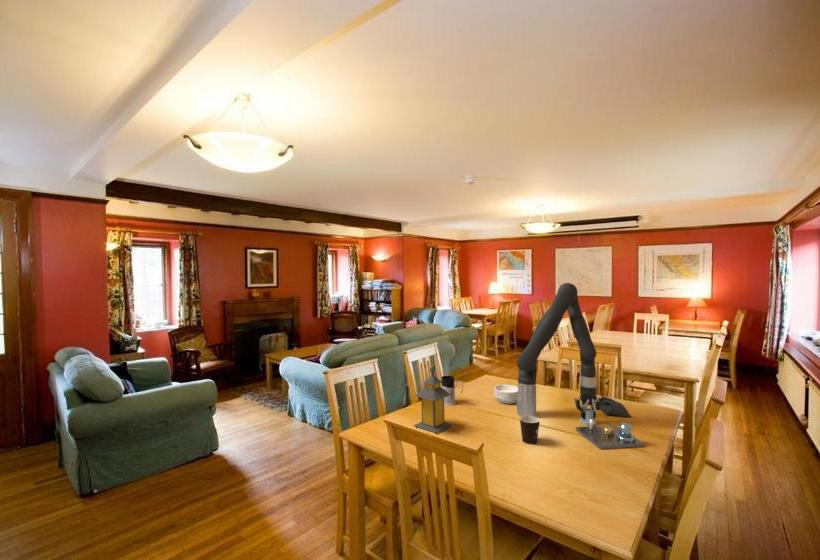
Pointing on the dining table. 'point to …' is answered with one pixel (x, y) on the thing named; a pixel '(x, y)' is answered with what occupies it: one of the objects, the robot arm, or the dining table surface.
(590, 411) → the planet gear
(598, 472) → the dining table surface
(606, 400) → the dark slate chunk
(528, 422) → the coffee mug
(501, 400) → the paper bowls
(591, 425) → the gear carrier
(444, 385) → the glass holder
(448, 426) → the lantern
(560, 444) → the dining table surface
